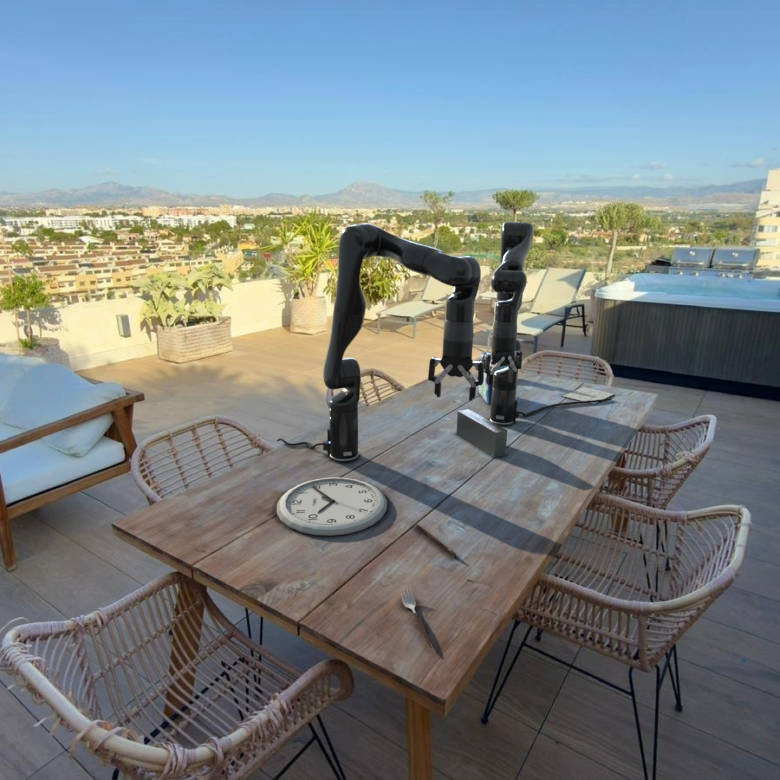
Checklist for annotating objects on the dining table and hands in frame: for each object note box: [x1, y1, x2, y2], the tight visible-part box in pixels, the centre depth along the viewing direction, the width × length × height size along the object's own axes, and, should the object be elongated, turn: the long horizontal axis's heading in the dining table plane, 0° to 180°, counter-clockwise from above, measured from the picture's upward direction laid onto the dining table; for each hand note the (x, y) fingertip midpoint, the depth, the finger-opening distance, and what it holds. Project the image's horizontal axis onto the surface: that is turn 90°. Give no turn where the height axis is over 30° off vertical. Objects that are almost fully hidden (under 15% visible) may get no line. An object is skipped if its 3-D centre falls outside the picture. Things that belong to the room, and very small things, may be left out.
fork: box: [399, 584, 432, 649], centre depth 101 cm, size 3×16×2 cm, turn 16°
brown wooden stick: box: [415, 524, 457, 559], centre depth 127 cm, size 15×1×1 cm, turn 34°
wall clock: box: [276, 476, 388, 537], centre depth 142 cm, size 30×2×30 cm
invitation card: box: [562, 386, 615, 405], centre depth 241 cm, size 21×1×15 cm
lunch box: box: [476, 351, 507, 406], centre depth 230 cm, size 26×11×21 cm, turn 179°
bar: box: [456, 408, 508, 459], centre depth 184 cm, size 23×5×9 cm, turn 26°
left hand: (454, 398), depth 138 cm, fingers open, 8 cm apart
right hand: (500, 383), depth 170 cm, fingers open, 8 cm apart
